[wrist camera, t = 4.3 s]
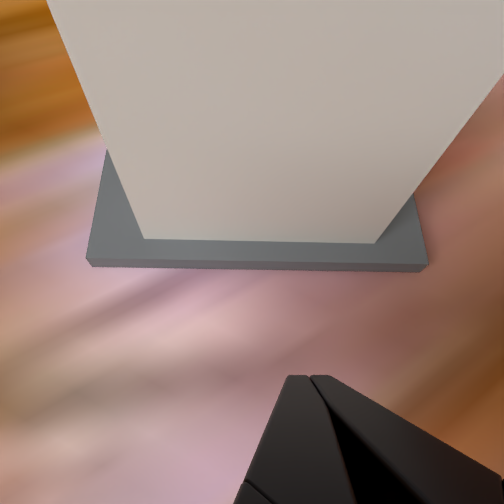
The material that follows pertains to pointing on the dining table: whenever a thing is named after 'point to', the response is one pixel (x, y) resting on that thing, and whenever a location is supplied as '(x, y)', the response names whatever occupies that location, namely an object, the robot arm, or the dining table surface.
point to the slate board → (243, 243)
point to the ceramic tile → (279, 107)
